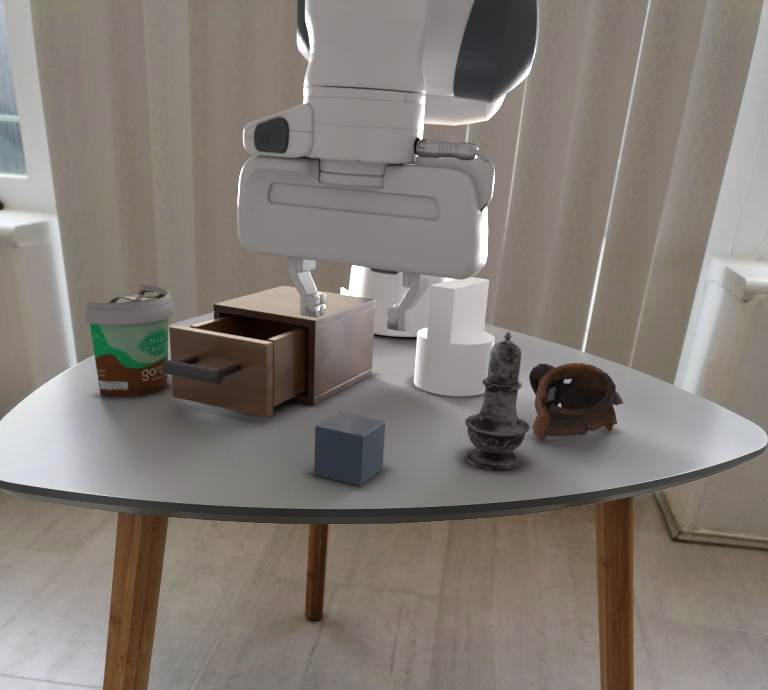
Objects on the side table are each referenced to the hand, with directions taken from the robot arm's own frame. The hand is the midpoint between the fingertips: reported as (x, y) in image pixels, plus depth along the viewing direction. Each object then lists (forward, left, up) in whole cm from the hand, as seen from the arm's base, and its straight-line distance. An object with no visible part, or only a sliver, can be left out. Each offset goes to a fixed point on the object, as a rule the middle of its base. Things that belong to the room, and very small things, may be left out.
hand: (355, 322), depth 67 cm
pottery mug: (-22, +14, -13) cm, 29 cm away
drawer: (-11, -18, -12) cm, 24 cm away
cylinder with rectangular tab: (-31, -2, -13) cm, 34 cm away
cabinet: (-22, -18, -13) cm, 31 cm away
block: (0, 0, -13) cm, 13 cm away
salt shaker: (-10, +10, -13) cm, 19 cm away
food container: (-10, -30, -13) cm, 34 cm away
